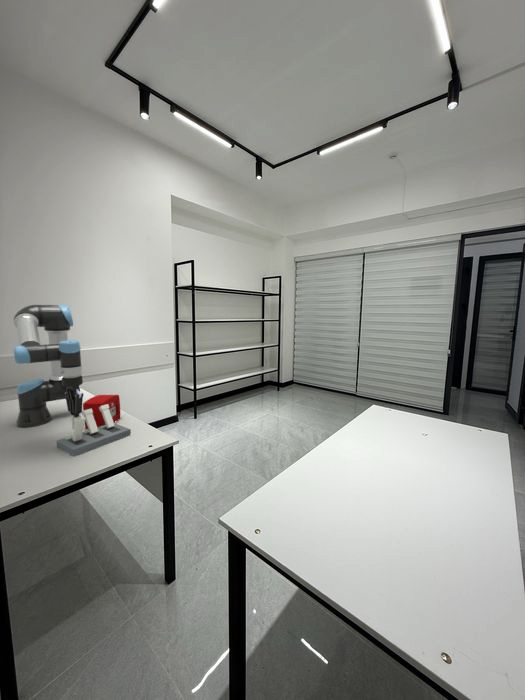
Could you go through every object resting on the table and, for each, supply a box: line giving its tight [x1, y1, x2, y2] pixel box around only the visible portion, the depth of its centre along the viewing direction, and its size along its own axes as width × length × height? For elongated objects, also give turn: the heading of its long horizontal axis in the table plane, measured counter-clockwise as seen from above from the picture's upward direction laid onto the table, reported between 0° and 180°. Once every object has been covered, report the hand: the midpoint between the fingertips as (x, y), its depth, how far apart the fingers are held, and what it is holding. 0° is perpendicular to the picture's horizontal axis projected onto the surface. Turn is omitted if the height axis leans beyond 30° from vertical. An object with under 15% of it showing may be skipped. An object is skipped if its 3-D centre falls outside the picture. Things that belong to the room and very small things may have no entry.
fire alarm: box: [82, 394, 121, 430], centre depth 157 cm, size 16×11×15 cm
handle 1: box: [81, 408, 98, 434], centre depth 138 cm, size 2×4×12 cm
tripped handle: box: [72, 415, 85, 442], centre depth 128 cm, size 2×4×12 cm, turn 147°
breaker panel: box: [55, 422, 132, 457], centre depth 137 cm, size 16×26×3 cm, turn 147°
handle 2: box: [99, 404, 115, 429], centre depth 144 cm, size 2×4×12 cm
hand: (76, 427), depth 129 cm, fingers closed
